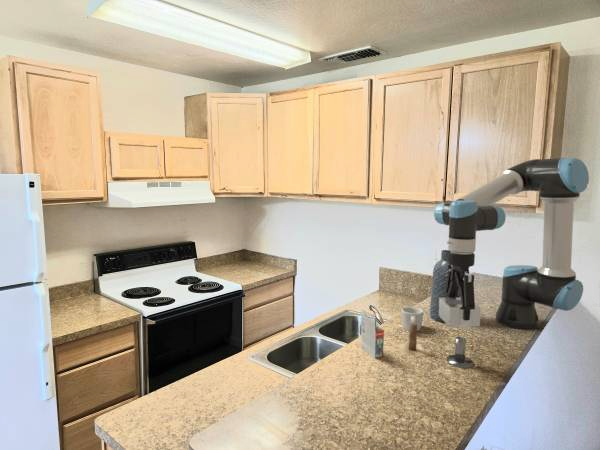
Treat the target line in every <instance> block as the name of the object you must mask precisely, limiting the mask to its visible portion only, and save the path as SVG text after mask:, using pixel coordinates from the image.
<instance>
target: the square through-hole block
mask: <svg viewBox="0 0 600 450" xmlns="http://www.w3.org/2000/svg"><path fill="white" fill-rule="evenodd" d="M460 307H462V304H461V297H455V298H439V317H440V318H441V319H442V320H443V321H444V322H443V323H445V324H446V325H447V326H448V327H450V328H451V327H456V328H457V327H458V328H459V326H460ZM481 309H482V307H481V306H480V305H479V304H478V303H476V302H475V309H471V312H470V328H471V327H481Z"/></svg>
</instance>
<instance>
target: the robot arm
mask: <svg viewBox="0 0 600 450" xmlns="http://www.w3.org/2000/svg"><path fill="white" fill-rule="evenodd" d="M589 177H590V176H589V169H588V168H587V165H585V163H584V161H582V160H581V159H579V158H576V157H559V158H542V159H541V158H537V159H534V158H533V159H530V160H527V161H526V160H525V161H523V162H520V163H518V164H515V165H513V166H512V167H509V168H507V169H506V170H503V171H502V172H501V173H500V174H499V175H498V177H496V178H494V179H492V180H491V181H489V182H488V183H487V182H486V183H484V185H481V186H480V187H477V188H476V189H474V190H473V191H472V190H471V192H469V193H467V194H465V195H463V196H462V197H459V198H458V199H456V200H453V201H452V202H441V203H438V204H437V205H436V206H435V208H434V212H433V217H434V220H435V221H436V223H438V224H440V225H445V226H448V241H446V243H447V245H448V247H447V249H448V250H450V251H449V252H448V264H450V265H448V275H447V282H446V289H445V293H447V296H448V297H449V298H454V297H458V295H457V291H458V288H459V290H460V297H461V304H462V307H460V326H459V327H458V328H459V330H460V331H470V329H471V327H470V312H471V309H475V303H476V300H475V286H474V285H475V283H474V282H475V275H474V274H470V267H473V266H474V265H475V261H476V260H475V259H476V254H475V252H476V243H477V242H476V240H477V238H476V237H477V235H476V234H477V232H480V231H494V230H497V229H500V228H502V227H503V226H504V225H505V222H506V217H507V216H506V213H505V211H504V209H503V208H502V207H501V206H498V205H494V204H496V203H498V202H500V201H501V200H503V199H504V198H508V196H510V195H517V194H519V193H522V192H539V198H540V199H541V200H542V201H543V203H544V206H543V207H544V208H543V210H544V211H543V232H542V233H543V238H542V240H543V241H542V265H541V267H539V268H538V267H537V266H535V265H521V264H519V265H517V264H515V265H508V266H506V267H504V269H503V274H502V285H501V287H502V288H501V302H500V304H499V306H498V308H497V310H496V312H495V320H496V322H497V323H499V324H501V325H503V326H507V327H509V328H513V329H514V328H515V329H521V330H534V329H537V328H538V327H539V323H540V322H539V321H540V320H539V316H538V312H537V308H536V306H535V305H536V303H537V304H539V305H542V306H546V307H550V308H552V309H556V310H561V311H565V312H567V311H571V310H573V309H574V308H575V307H577V305H578V304H579V302H580V301H581V300H582V296H583V293H584V285H583V282H582V281H581V280H578V279H577V277H576V276H577V273H576V272H575V270H573V268H572V256H573V255H572V254H573V253H572V252H573V251H572V249H573V248H572V247H573V228H574V209H575V208H574V207H575V206H574V205H575V204H574V203H575V201H576V200H577V199H579V198H580V194H581V193H583V192H584V191H585V190H586V189H587V188H588V185H589V182H590V178H589ZM448 289H449V290H448Z"/></svg>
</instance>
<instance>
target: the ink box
mask: <svg viewBox="0 0 600 450" xmlns="http://www.w3.org/2000/svg"><path fill="white" fill-rule="evenodd" d="M368 316H369V317H368ZM370 317H371V318H370ZM360 326H361V327H360V328H361V329H360V330H361V331H360V333H361V334H360V339H361V340H360V349H361V350H362V351H363V352H365V353H366V354H368V355H370V356H371V357H373V358H374V359H379V358H382V357H384V344H385V343H384V339H385V330H384V329H383V328H381V327H379V326H378V325H377V316H375V315H373V314H371V313H369V312H367V311H366V310H364V309H361V324H360Z"/></svg>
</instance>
